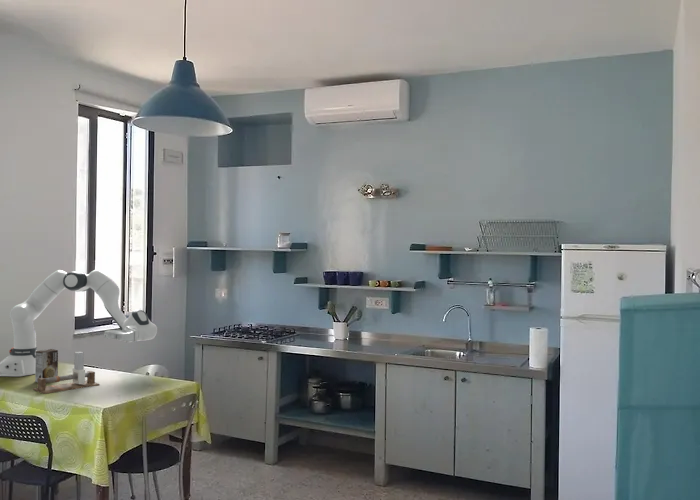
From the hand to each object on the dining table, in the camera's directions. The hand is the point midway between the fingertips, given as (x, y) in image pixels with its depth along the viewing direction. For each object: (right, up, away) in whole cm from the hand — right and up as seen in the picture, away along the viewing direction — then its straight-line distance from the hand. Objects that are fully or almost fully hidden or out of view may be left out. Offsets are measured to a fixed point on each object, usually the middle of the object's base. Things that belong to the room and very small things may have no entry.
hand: (105, 336), depth 337 cm
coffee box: (-31, -23, -1) cm, 38 cm away
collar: (-10, -22, -10) cm, 26 cm away
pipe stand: (-14, -24, -15) cm, 31 cm away
